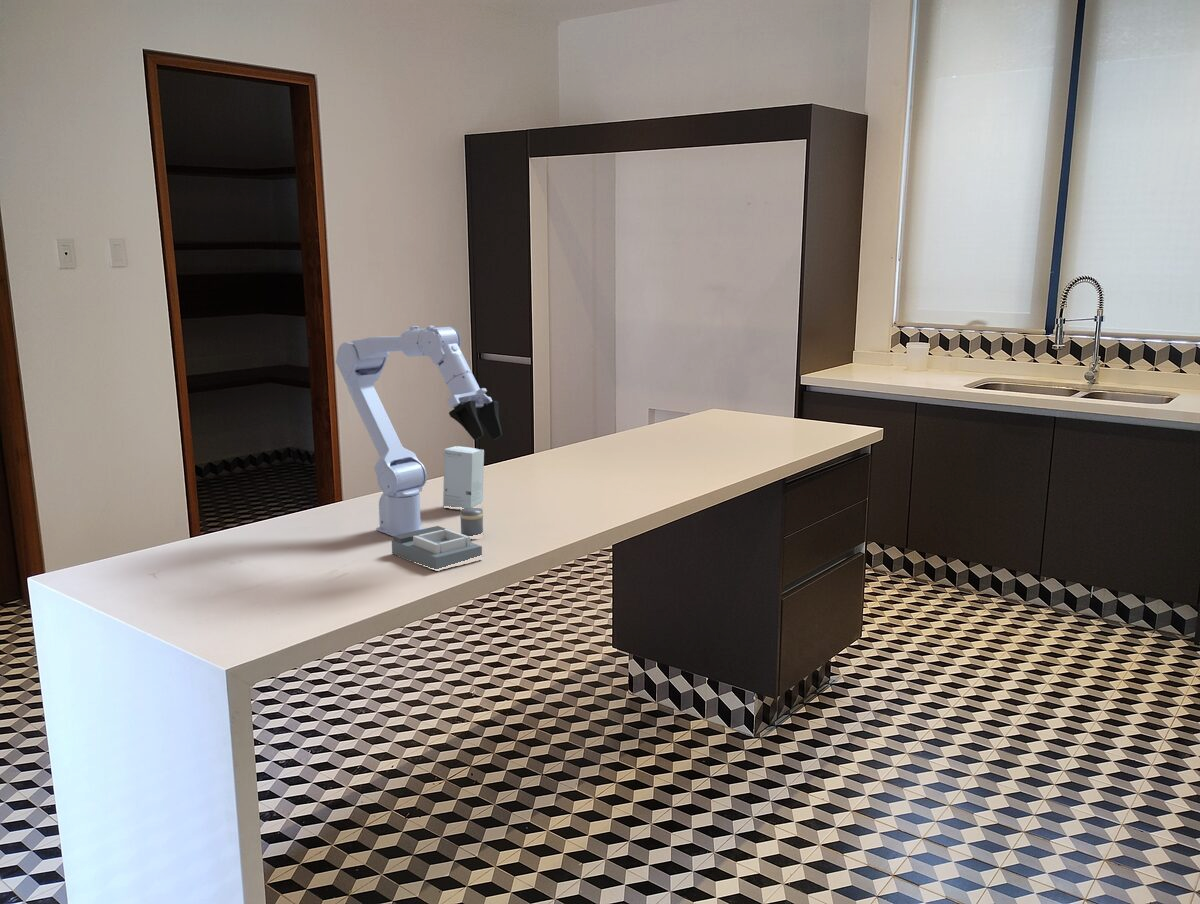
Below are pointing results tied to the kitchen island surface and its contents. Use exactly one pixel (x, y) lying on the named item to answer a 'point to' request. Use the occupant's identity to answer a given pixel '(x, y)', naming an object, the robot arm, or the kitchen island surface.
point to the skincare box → (463, 477)
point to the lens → (471, 521)
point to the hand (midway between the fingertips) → (488, 437)
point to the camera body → (435, 547)
